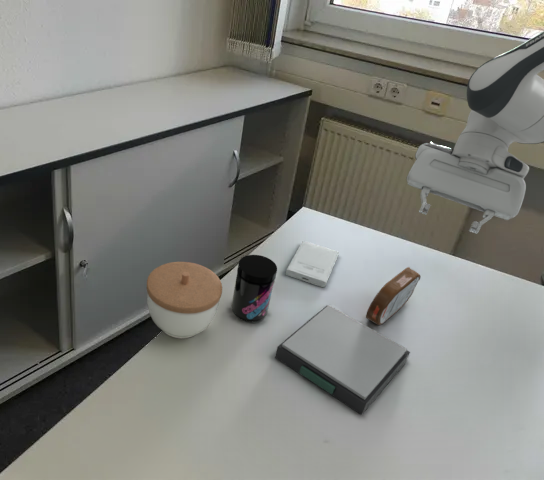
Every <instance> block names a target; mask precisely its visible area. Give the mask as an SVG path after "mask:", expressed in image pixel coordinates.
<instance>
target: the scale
mask: <svg viewBox="0 0 544 480" xmlns="http://www.w3.org/2000/svg"><path fill="white" fill-rule="evenodd" d="M410 354H411V351H410V350H408V348H406V347H404V346H402V345H400V344H399V343H398V342H396V341H394V340H393V339H391V338H389V337H387V336H385V335H383V334H382V333H379V332H378V331H376V330H375V329H373V328H371V327H370V326H368V325H365V324H364V323H362V322H360V321H358V320H356V319H355V318H353V317H351V316H350V315H347V314H346V313H344V312H342V311H340V310H339V309H337V308H336V307H333V306H332V305H330V304H326V305H325V306H324V307H323V308H322V309H320V310H319V311H318V312H317V313H316V314H314V316H312V317H311V318H310V319H308V320H307V321H306V322H305V323H304V324H303V325H301V326H300V327H299V328H298V329H296V330H295V331H294V332H293V333H292V334H291V335H290V336H288V337H287V338H286V339H285V340H283V341H282V342H281V343H280V344H279V345H277V347H276V350H275V355H274V358H275V359H277V360H279V361H280V362H281V363H283V364H284V365H286V367H289V368H291V370H293V371H295V372H296V373H298V374H299V375H301V376H302V377H304V378H305V379H307V380H308V381H310V382H311V383H313V384H314V385H315V386H317V387H319V388H321V390H323V391H325V392H327V393H328V394H329V395H331V396H332V397H334V398H335V399H337V400H339V401H340V402H341V403H342V404H345V405H346V406H347V407H349V408H351V409H352V410H354V411H355V412H356V413H358V414H359V415H363V414H364V413H365V412H366V410H368V408H369V407H370V406H371V404H373V402H374V401H375V400H376V398H377V397H378V396H379V395H380V393H382V391H383V390H384V389H385V388H386V387H387V385H388V384H389V383H390V381H392V380H393V378H394V377H395V376H396V375H397V373H398V372H399V371H400V370H401V369H402V368H403V366H404V365H405V364H407V361H408V358H409V356H410Z"/></svg>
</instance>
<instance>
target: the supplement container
mask: <svg viewBox="0 0 544 480" xmlns="http://www.w3.org/2000/svg"><path fill="white" fill-rule="evenodd" d="M277 273H278V265H277V264H276V263H275V261H273V260H272V259H271V258H269V257H268V256H267V257H266V256H264V255H260V254H248V255H247V254H246V255H245V256H242V257H241V258H240V259H239V260H238V265H237V270H236V277H235V283H234V288H233V289H234V290H233V294H232V300H231V306H230V307H231V311H232V313H233V315H234V316H235V317H236V318H237V319H239V320H240V321H243V322H247V323H259V322H260V321H262V320H264V319H265V318H266V316H267V315H268V312H269V307H270V303H271V299H272V294H273V289H274V285H275V280H276V278H277Z"/></svg>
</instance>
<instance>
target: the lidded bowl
mask: <svg viewBox="0 0 544 480" xmlns="http://www.w3.org/2000/svg"><path fill="white" fill-rule="evenodd" d="M222 293H223V284H222V282H221V279H220V278H219V276H218V275H217V274H216V273H215V272H214V271H213V270H211V269H209V268H208V267H206V266H203V265H202V264H198V263H195V262H189V261H172V262H171V261H170V262H167V263H163V264H161V265H159V266H157V267H155V268H154V269H153V270H152V271H151V272H150V273H149V274H148V276H147V279H146V303H147V309H148V314H149V315H150V318H151V320H152V322H153V323H154V324H155V325H156V326H157V328H159V329H160V330H161V331H162V332H163V333H164V334H165V335H167V336H169V337H171V338H174V339H180V340H181V339H182V340H183V339H190V338H192V337H195V336H196V335H198V334H200V333H202V332H203V331H205V330H206V329H207V328H208V327H209V326H210V325H211V324H212V322H213V321H214V319H215V317H216V315H217V313H218V310H219V306H220V301H221V297H222Z"/></svg>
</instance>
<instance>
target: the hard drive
mask: <svg viewBox="0 0 544 480" xmlns="http://www.w3.org/2000/svg"><path fill="white" fill-rule="evenodd" d="M339 254H340V252H339V250H335V249H332V248H329V247H326V246H323V245H319V244H315V243H312V242H310V241H305V240H302V241H301V242H300V244H299V247H298V248H297V250H296V251H295V254H294V255H293V257H292V259H291V260H290V263H289V264H288V266H287V267H286V269H285V270H286V271H285V276H288V277H290V278H293V279H296V280H299V281H303V282H305V283H308V284H311V285H315V286H317V287H321V288H326V285H327V284H328V281H329V279H330V276H331V273H332V272H333V269H334V266H335V264H336V262H337V259H338V257H339Z"/></svg>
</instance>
